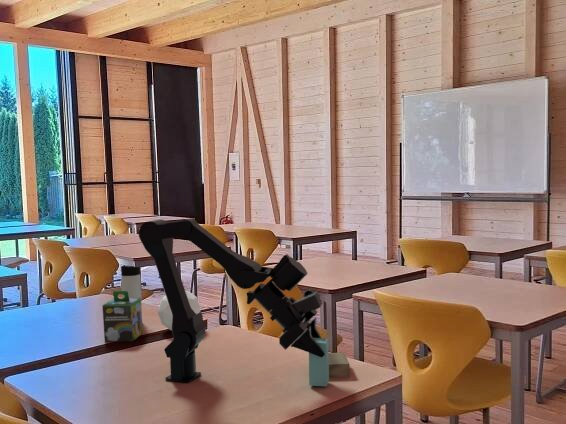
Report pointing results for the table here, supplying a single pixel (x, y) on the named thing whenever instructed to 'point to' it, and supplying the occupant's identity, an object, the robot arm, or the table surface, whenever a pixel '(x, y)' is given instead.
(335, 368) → the base brick
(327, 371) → the pillar brick
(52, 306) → the table surface
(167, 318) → the geodesic sphere
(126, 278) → the travel mug
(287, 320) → the robot arm
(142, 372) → the table surface
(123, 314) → the chalk box
